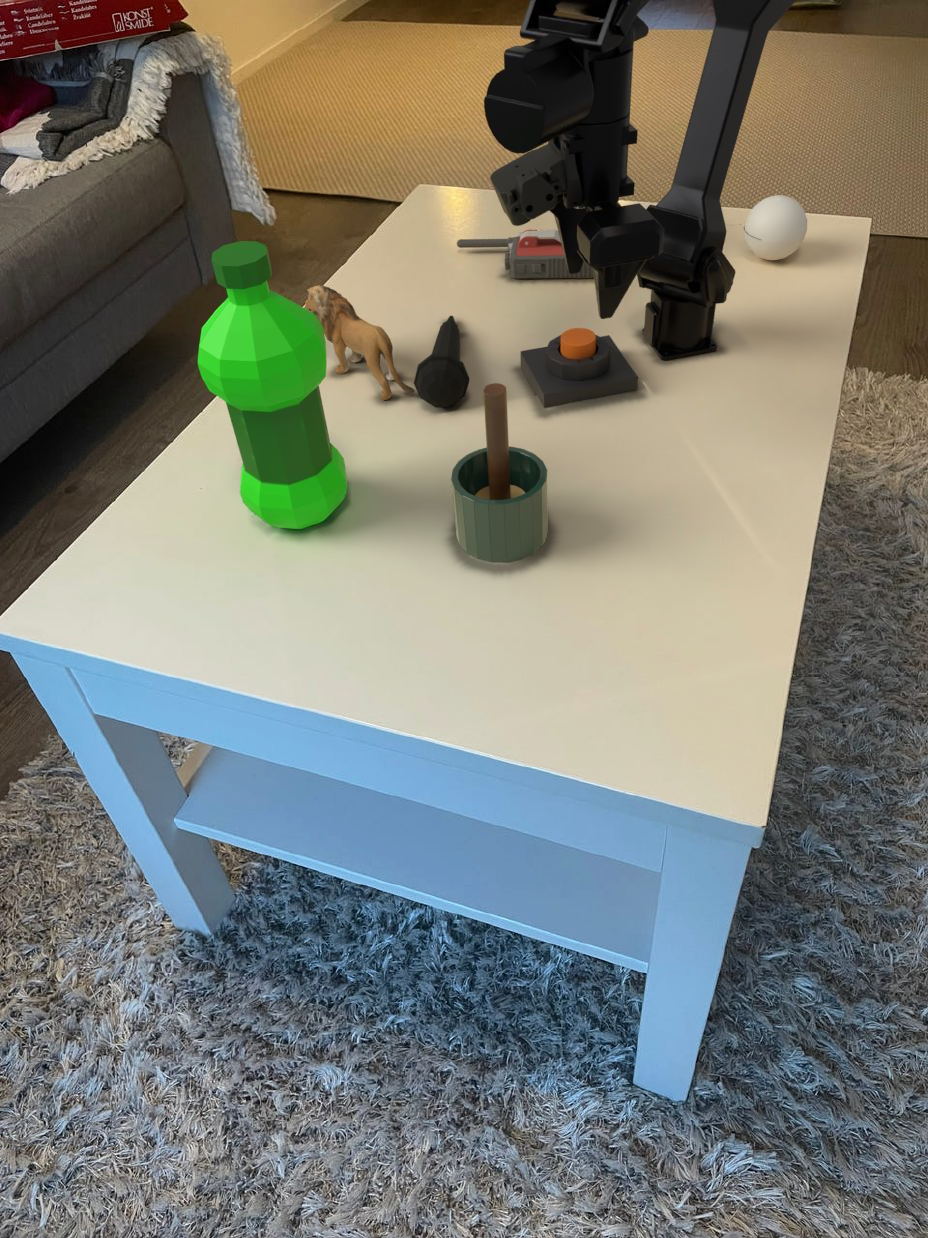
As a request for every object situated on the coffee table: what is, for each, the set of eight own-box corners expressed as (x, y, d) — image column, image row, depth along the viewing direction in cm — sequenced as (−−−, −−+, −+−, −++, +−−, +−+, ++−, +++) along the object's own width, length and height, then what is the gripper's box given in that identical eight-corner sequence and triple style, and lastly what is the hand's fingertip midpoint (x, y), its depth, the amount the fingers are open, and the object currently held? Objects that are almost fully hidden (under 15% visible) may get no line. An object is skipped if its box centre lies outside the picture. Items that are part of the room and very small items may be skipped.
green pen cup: (533, 501, 89) (532, 438, 84) (558, 557, 83) (559, 493, 78) (448, 518, 88) (442, 455, 83) (468, 576, 82) (463, 512, 77)
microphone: (439, 347, 115) (425, 425, 99) (420, 303, 112) (403, 376, 96) (481, 332, 113) (475, 408, 98) (464, 286, 110) (454, 358, 95)
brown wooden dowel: (520, 510, 87) (516, 368, 77) (535, 543, 84) (533, 399, 73) (469, 520, 86) (457, 378, 76) (482, 554, 83) (471, 411, 73)
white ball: (804, 246, 120) (816, 186, 115) (797, 273, 116) (809, 212, 110) (723, 239, 123) (731, 180, 118) (713, 265, 118) (721, 205, 113)
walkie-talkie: (612, 247, 124) (458, 249, 126) (614, 213, 121) (456, 216, 123) (611, 279, 118) (450, 281, 120) (613, 244, 115) (447, 246, 117)
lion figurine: (303, 367, 108) (287, 292, 102) (336, 346, 111) (323, 272, 104) (399, 408, 101) (388, 330, 95) (432, 385, 104) (424, 307, 97)
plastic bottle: (311, 465, 95) (255, 212, 77) (378, 511, 89) (335, 249, 71) (225, 514, 90) (145, 256, 73) (291, 565, 85) (221, 300, 67)
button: (589, 340, 101) (589, 325, 100) (600, 357, 99) (600, 341, 97) (556, 346, 101) (556, 331, 99) (566, 363, 98) (566, 348, 97)
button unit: (608, 352, 106) (609, 319, 103) (636, 395, 100) (639, 361, 97) (520, 369, 105) (519, 335, 102) (544, 413, 99) (543, 379, 96)
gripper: (470, 91, 83) (480, 265, 94) (529, 169, 70) (533, 360, 81) (593, 73, 84) (589, 246, 96) (674, 146, 71) (658, 337, 83)
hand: (589, 294), depth 89 cm, fingers open, 9 cm apart
